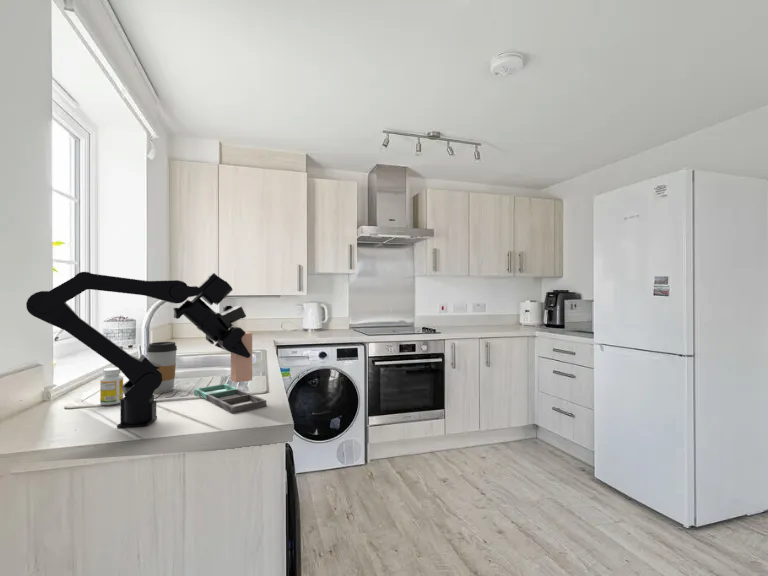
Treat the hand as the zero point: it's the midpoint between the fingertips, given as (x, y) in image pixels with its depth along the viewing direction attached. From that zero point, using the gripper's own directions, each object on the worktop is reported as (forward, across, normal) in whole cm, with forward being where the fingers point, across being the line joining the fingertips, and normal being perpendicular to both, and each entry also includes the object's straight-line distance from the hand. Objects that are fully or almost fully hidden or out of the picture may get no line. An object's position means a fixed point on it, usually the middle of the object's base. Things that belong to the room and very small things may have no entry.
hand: (246, 355), depth 112 cm
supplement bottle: (-11, +25, +31) cm, 41 cm away
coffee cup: (-2, +31, +21) cm, 38 cm away
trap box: (+8, +8, +12) cm, 16 cm away
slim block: (+4, 0, +6) cm, 7 cm away
